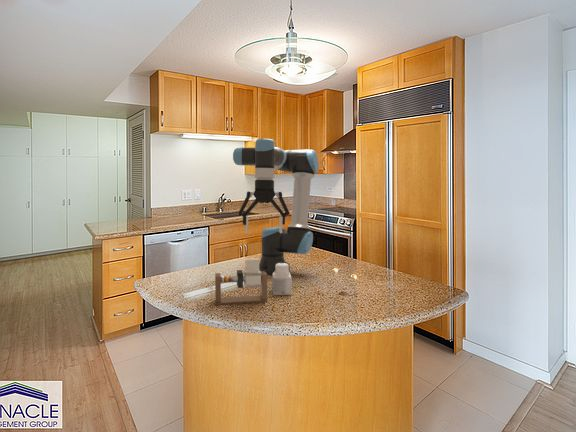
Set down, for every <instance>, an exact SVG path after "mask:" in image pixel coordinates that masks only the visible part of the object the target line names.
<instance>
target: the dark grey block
mask: <svg viewBox="0 0 576 432" xmlns="http://www.w3.org/2000/svg"><path fill="white" fill-rule="evenodd" d="M236 276H238V282H236V286H237V288H238V289H244V282H243V276H244V271H243V269H237V270H236Z"/></svg>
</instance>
